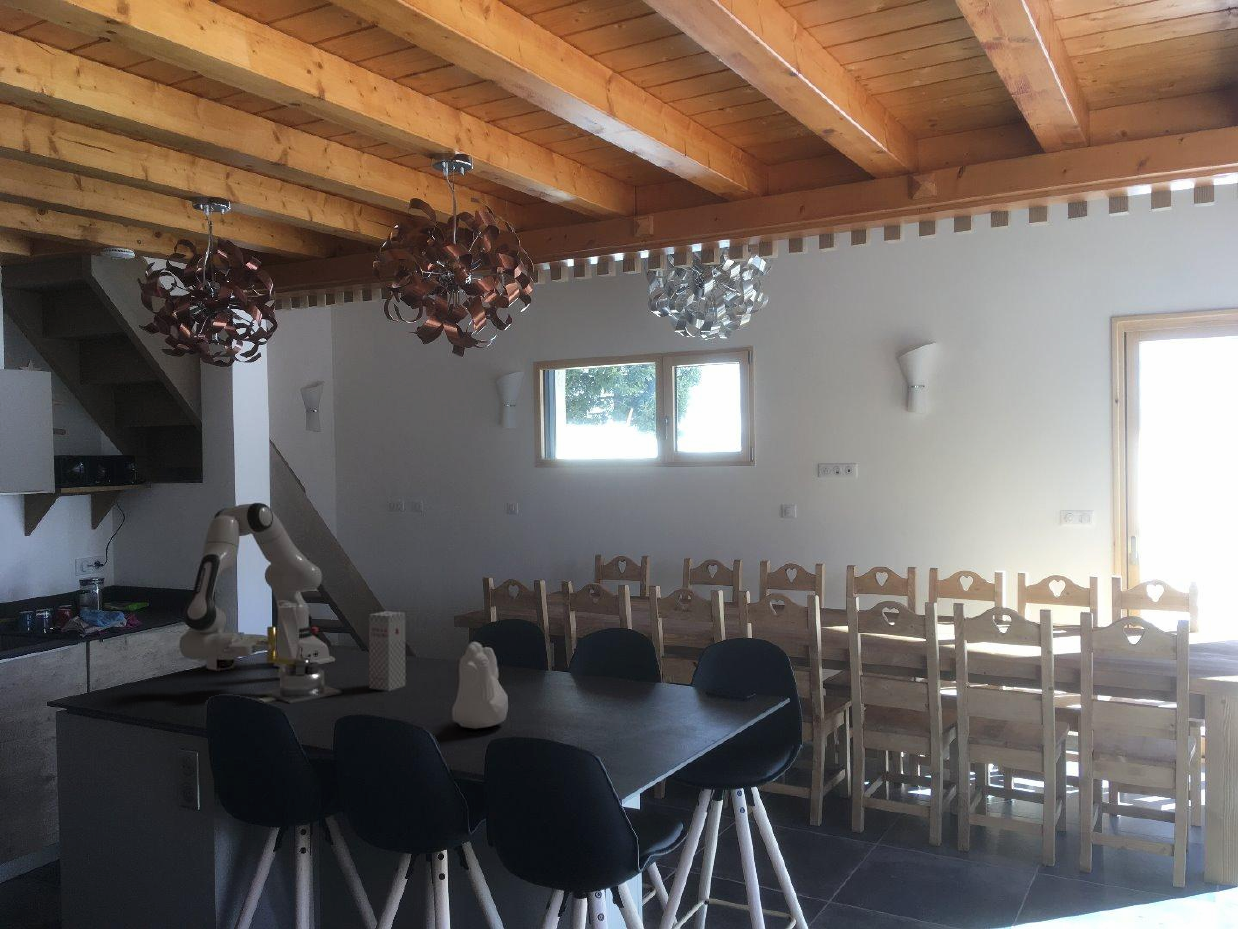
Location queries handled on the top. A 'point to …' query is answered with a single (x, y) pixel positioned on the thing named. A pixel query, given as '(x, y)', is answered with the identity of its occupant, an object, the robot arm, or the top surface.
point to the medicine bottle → (219, 664)
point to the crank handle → (292, 664)
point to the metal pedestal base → (301, 687)
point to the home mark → (267, 699)
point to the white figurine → (479, 690)
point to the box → (386, 650)
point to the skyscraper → (287, 633)
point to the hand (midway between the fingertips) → (273, 645)
